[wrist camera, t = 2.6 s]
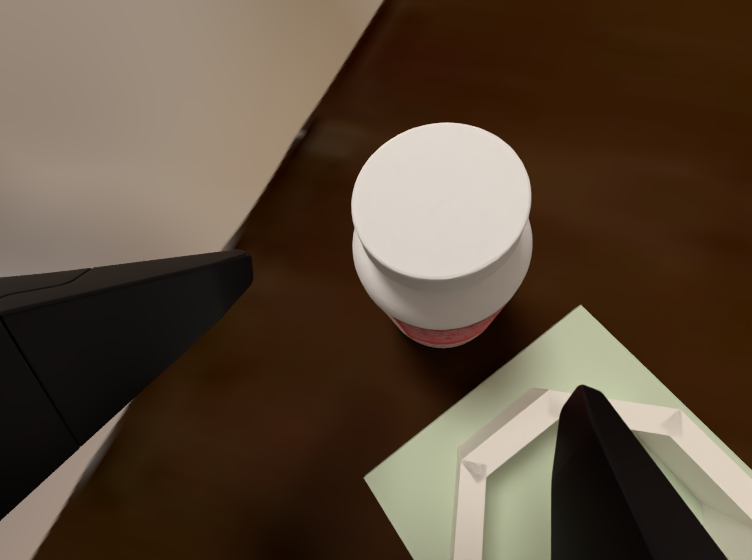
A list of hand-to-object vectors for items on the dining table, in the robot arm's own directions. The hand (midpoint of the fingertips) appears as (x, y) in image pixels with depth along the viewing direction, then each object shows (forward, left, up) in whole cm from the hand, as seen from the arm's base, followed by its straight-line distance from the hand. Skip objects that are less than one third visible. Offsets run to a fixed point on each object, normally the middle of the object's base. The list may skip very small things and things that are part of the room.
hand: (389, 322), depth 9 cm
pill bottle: (+3, +2, -11) cm, 11 cm away
